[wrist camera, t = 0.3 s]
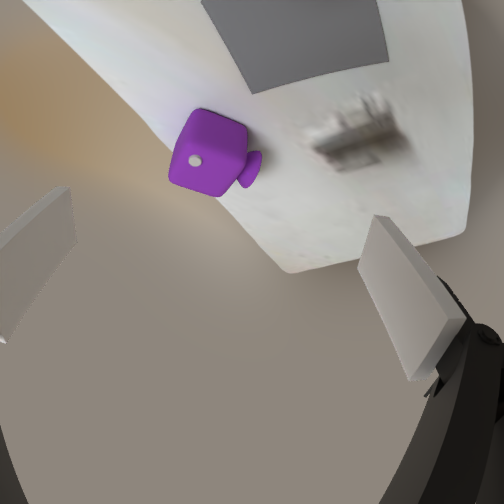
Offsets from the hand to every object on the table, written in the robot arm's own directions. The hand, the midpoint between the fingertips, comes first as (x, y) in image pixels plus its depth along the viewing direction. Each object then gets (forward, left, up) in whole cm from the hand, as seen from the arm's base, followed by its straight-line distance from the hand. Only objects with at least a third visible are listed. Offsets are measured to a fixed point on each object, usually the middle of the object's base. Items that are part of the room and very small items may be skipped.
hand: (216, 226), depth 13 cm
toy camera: (+20, -13, -34) cm, 41 cm away
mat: (+6, +5, -33) cm, 34 cm away
